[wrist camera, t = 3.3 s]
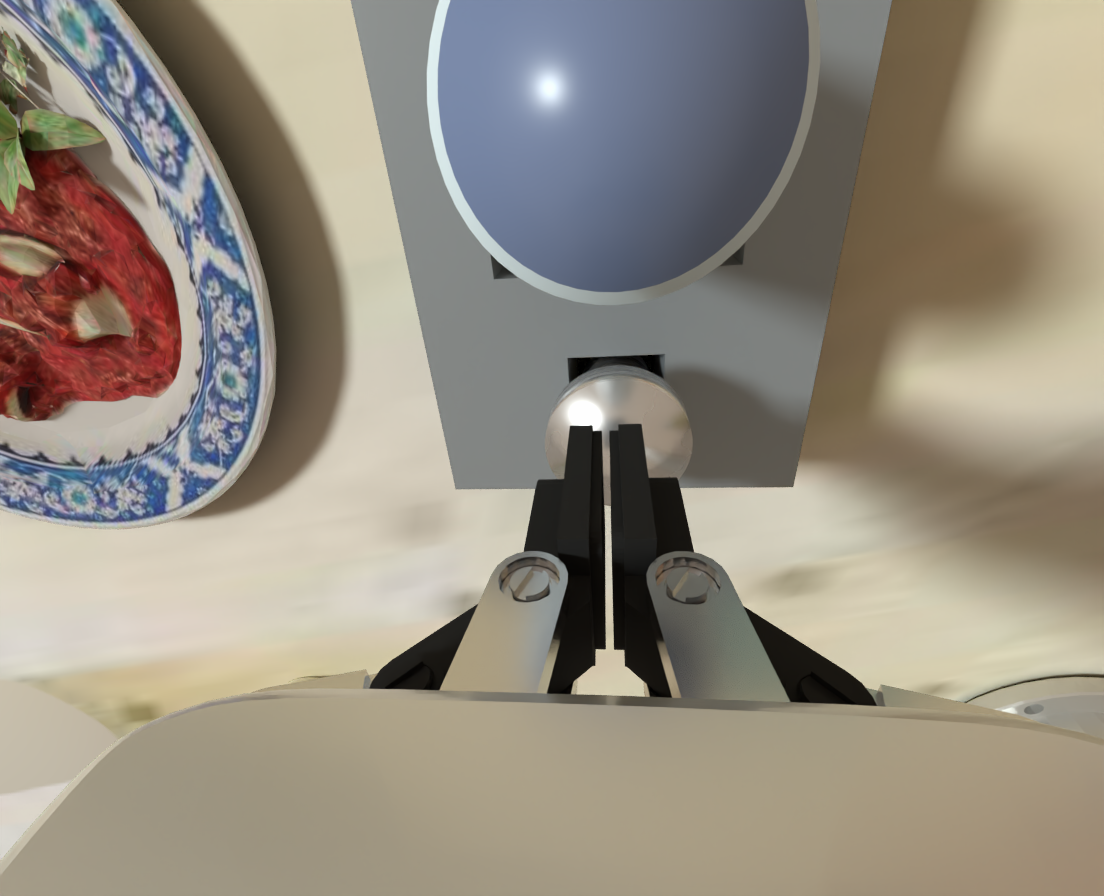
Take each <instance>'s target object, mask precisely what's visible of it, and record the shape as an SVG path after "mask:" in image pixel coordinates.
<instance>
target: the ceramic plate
mask: <svg viewBox="0 0 1104 896" xmlns="http://www.w3.org/2000/svg"><path fill="white" fill-rule="evenodd" d="M275 379H276V341H275V331H274V321H273V314H272V309H271V304H270V298H269V293H268V288H267V283H266V279H265V276H264V272H263V269H262V265H261V262H260V258H259V255H258V251H257V248H256V244H255V242H254V239H253V236H252V234H251V231H250V228H249V226H248V223H247V220H246V217H245V215H244V212H243V209H242V207H241V204H240V202H239V200H238V198H237V195H236V193H235V191H234V189H233V187H232V184H231V182H230V180H229V178H228V176H227V173H226V171H225V169H224V167H223V165H222V162H221V160H220V159H219V157H218V155H217V153H216V151H215V149H214V148H213V146H212V144H211V142H210V140H209V138H208V136H207V135H206V133H205V131H204V129H203V127H202V125H201V123H200V122H199V120H198V118H197V116H196V114H195V113H194V111H193V110H192V108H191V107H190V105H189V103H188V102H187V100H186V99H185V97H184V95H183V94H182V92H181V91H180V89H179V87H178V86H177V84H176V83H175V81H174V79H173V78H172V76H171V75H170V73H169V72H168V70H167V68H166V67H165V66H164V64H163V63H162V61H161V60H160V59H159V57H158V56H157V54H156V53H155V52H154V50H153V49H152V47H151V46H150V45H149V43H148V42H147V41H146V39H145V38H144V36H143V35H142V34H141V32H140V31H139V29H138V28H137V27H136V25H135V24H134V22H133V21H132V20H131V18H130V17H129V16H128V15H127V14H126V12H125V11H124V10H123V9H122V7H121V6H120V5H119V4H118V3H117V1H116V0H0V510H2V511H5V512H9V513H13V514H16V515H19V516H23V517H26V518H30V519H35V520H39V521H44V522H49V523H53V524H59V525H65V526H72V527H79V528H93V529H131V528H140V527H148V526H153V525H158V524H162V523H167V522H170V521H173V520H176V519H179V518H182V517H185V516H187V515H189V514H191V513H194V512H196V511H198V510H200V509H202V508H204V507H205V506H207V505H208V504H210V503H211V502H213V501H214V500H216V499H217V498H219V497H220V496H221V495H222V494H223V493H224V492H225V491H227V490H228V489H229V488H230V487H231V486H232V485H233V484H234V483H235V482H236V481H237V479H238V478H239V477H240V476H241V474H242V473H243V472H244V471H245V469H246V468H247V467H248V465H249V464H250V462H251V460H252V458H253V457H254V455H255V453H256V452H257V450H258V448H259V446H260V443H261V441H262V439H263V436H264V434H265V431H266V429H267V425H268V421H269V417H270V412H271V408H272V404H273V399H274V395H275Z"/></svg>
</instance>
